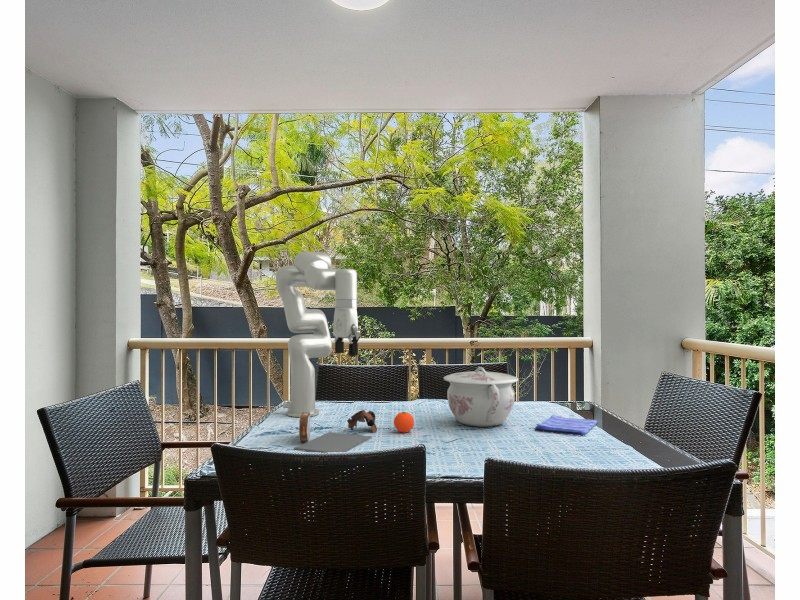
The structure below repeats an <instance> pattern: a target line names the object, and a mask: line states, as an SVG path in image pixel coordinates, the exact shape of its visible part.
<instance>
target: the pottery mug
mask: <svg viewBox="0 0 800 600" xmlns="http://www.w3.org/2000/svg"><path fill="white" fill-rule="evenodd" d="M375 421H376V413H375V412H374V411H372V410H368V411H366V409H362V410H360V411H357V412H355V413H354V414H353V415H351V416H350V417H349V418H348V419H346V422H347V425H348V426H347V427H348V428H349V429H350V430H351V431H352V430H354V428H355V427H356V428H357V426H358V425H357V424H358V422H359V423H366V424H367V426H368V427H370V430H371V433H373V434H374V433H376V431H378V428H377V425H376V423H375Z"/></svg>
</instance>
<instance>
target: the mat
mask: <svg viewBox="0 0 800 600" xmlns="http://www.w3.org/2000/svg"><path fill="white" fill-rule="evenodd" d="M372 438H373V436H370V435H362V434H351V433H342V432H332V431H329V432H327V433H324V434H322V435H320V436H317V437H315V438H313V439H311V440H310V439H309V440H308V441H307V442H303V443H302V444H300V445H297V446H295V447H293V450H294V451H303V450H305V452H312V453H320V452H345V453H347V452H348V451H350V450H352V449H354V448H356V447H357V446H359V445H361V444H363V443H365V442H368V441H369V440H371V439H372Z"/></svg>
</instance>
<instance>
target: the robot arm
mask: <svg viewBox="0 0 800 600" xmlns="http://www.w3.org/2000/svg"><path fill="white" fill-rule="evenodd" d="M275 285H276V289H277V292H278V295H279V296H280V298H281V301H282V304H283V310H284V314H285V319H286V324H287V327H288V329H289V331H290V332H291V333H294V334H295V333H296V334H295V335H293V336H291V337H290V338H289V340H288V342H287V349H288V354H289V355H288V356H289V362H290V363H289V364H290V366H289V367H290V402H284V403H283V405H282V407H283V409H288V410H287V411H286V415H287V416H288V417H291V416H292V418H300V415H301V413H302V412H309V413H310V417H315V416H317V415H319V414H320V410H318V409H317V408H316V369H315V366H314V364H313V363H312V362H311V361H310V359H315V358H316V359H317V358H326V357H328V356H329V355H330V354H332V349H333V345H332V344H333V343H332V338H331V334H330V328H329V324H328V319H327V316H326V314H325V313H324V312H323V310H322V309H318V308H307V307H306V303H305V302H306V301H305V299H304V297H303V295H302V294H301V293H300V292H299V291H298V289H296V288H295V287H303V288H304V287H305V288H306V287H307V288H308V287H310V288H313V289H315V290H317V291H335V293H334V294H335V295H334V296H335V297H334V299H335V300H334V301H335V306H334V307H335V308H334V314H333V322H332V323H333V326H332V327H333V329H332V331H333V332H332V336H333V338H334V353H335V354H344V352H345V342H344V339H346V338H348V341H349V343H348V356H349V357H350V356H351V357H352V356H358V355H359V354H358V353H359V351H358V350H359V349H358V347H359V340H360V335H361V331H360V329H359V322H358V320H359V318H358V311H357V309H358V272H357V270H356V269H353V268H339V269H338V268H332V259H331V257H330V255H329V254H328V253H326V252H323V251H322V252H321V251H301V252H298V253H297V254H296V255H295V257H294V259H293V265H284V266H281V267H280V268H278V269H277V271H276V273H275Z"/></svg>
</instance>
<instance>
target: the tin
mask: <svg viewBox="0 0 800 600" xmlns="http://www.w3.org/2000/svg"><path fill="white" fill-rule="evenodd" d="M310 423H311V416H310V413H309V412H302V413H301V415H300V417H299V424H298V425H299V431H298V432H299V433H298V434H299V435H298V436H299V437H298V438H299V443H301V442H302V443H306V442H308V441H310V437H311V424H310Z"/></svg>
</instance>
